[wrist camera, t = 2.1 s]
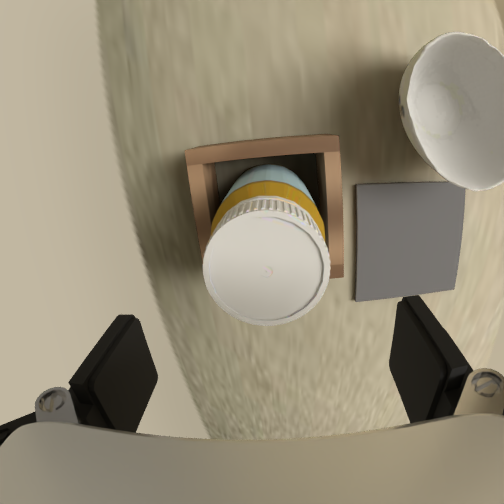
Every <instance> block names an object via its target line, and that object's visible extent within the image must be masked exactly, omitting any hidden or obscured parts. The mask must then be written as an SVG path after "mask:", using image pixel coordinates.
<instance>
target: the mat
mask: <svg viewBox="0 0 504 504" xmlns="http://www.w3.org/2000/svg"><path fill="white" fill-rule="evenodd" d="M355 187H356V285H355V301H356V302H360V301H370V300H378V299H387V298H395V297H403V296H411V295H418V294H426V293H433V292H440V291H447V290H453V289H454V288H455V282H456V276H457V270H458V263H459V256H460V248H461V240H462V230H463V219H464V206H465V188H461V187H458V186H456V185H454V184H452V183H450V182H398V183H371V184H355Z"/></svg>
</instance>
